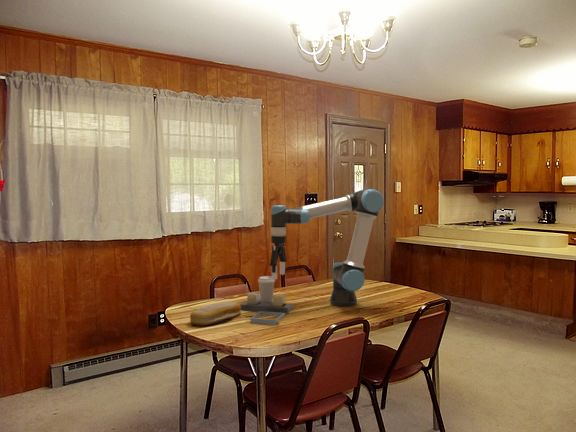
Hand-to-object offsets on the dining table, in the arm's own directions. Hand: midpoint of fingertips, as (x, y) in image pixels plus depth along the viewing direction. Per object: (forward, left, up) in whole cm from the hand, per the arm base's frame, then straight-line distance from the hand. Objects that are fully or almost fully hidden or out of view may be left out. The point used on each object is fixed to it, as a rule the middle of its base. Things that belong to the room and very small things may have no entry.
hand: (278, 276), depth 226 cm
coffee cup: (+12, -15, -19) cm, 27 cm away
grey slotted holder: (+7, 0, -19) cm, 20 cm away
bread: (+25, +21, -19) cm, 38 cm away
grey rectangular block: (+14, 0, -18) cm, 22 cm away
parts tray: (+1, +15, -19) cm, 24 cm away
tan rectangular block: (0, 0, -18) cm, 18 cm away
